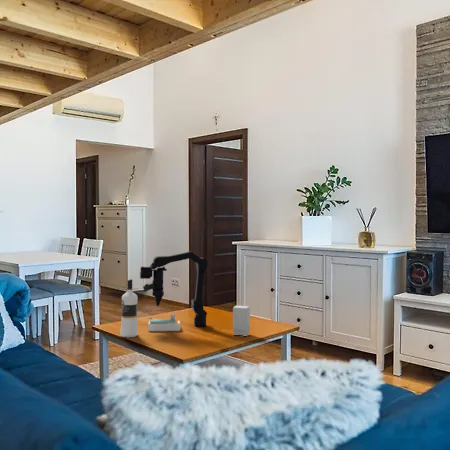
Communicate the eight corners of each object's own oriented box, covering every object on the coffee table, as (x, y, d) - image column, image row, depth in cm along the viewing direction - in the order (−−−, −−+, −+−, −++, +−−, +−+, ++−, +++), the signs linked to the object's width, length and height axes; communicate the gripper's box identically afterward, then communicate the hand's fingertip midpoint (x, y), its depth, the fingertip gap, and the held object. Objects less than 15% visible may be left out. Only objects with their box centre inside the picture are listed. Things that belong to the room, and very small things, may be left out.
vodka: (139, 337, 246) (140, 280, 245) (122, 338, 242) (123, 280, 241) (135, 332, 254) (136, 277, 253) (118, 334, 250) (119, 278, 250)
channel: (179, 327, 268) (179, 320, 268) (180, 330, 261) (180, 323, 261) (148, 327, 266) (148, 320, 266) (148, 331, 258) (148, 323, 258)
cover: (175, 319, 268) (175, 312, 268) (175, 322, 261) (175, 315, 261) (148, 320, 266) (148, 313, 266) (148, 323, 259) (148, 316, 259)
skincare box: (250, 334, 256) (250, 306, 255) (246, 337, 249) (247, 308, 249) (235, 332, 258) (236, 304, 258) (232, 335, 252) (232, 307, 252)
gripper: (144, 276, 274) (143, 302, 275) (143, 280, 256) (143, 309, 256) (163, 276, 276) (162, 302, 276) (163, 280, 258) (163, 309, 258)
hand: (157, 305), depth 267 cm, fingers closed
